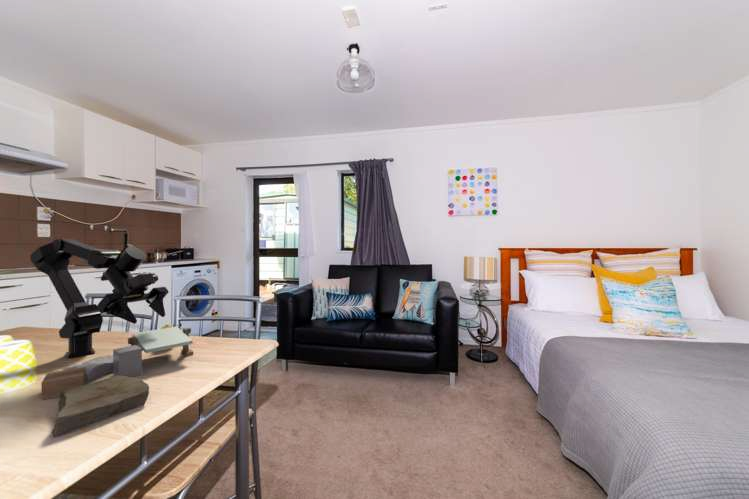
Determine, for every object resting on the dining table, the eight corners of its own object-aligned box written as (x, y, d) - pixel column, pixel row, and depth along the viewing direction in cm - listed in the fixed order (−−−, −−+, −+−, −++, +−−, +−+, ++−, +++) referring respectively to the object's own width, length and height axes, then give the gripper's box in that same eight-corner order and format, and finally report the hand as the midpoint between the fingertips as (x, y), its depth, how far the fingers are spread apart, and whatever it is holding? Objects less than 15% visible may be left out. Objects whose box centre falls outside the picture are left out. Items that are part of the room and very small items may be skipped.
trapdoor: (132, 348, 98) (132, 333, 97) (175, 340, 107) (176, 326, 106) (145, 366, 88) (145, 349, 88) (191, 356, 97) (192, 340, 97)
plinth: (47, 389, 77) (47, 373, 77) (85, 381, 81) (85, 366, 81) (41, 400, 72) (41, 382, 72) (83, 391, 76) (83, 375, 76)
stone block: (56, 388, 82) (89, 382, 81) (54, 369, 82) (87, 364, 81) (100, 372, 94) (130, 367, 93) (98, 356, 94) (128, 350, 93)
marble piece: (54, 440, 57) (54, 417, 57) (35, 416, 66) (35, 396, 66) (157, 403, 71) (157, 384, 71) (131, 387, 79) (131, 370, 79)
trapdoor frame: (125, 364, 93) (125, 336, 93) (187, 351, 106) (188, 326, 106) (129, 369, 90) (129, 340, 90) (193, 354, 103) (193, 328, 103)
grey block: (113, 376, 85) (113, 349, 85) (135, 371, 89) (135, 344, 89) (118, 381, 82) (118, 353, 82) (141, 375, 86) (141, 348, 86)
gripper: (105, 265, 88) (135, 307, 85) (164, 262, 106) (191, 297, 103) (84, 292, 90) (112, 333, 87) (146, 284, 108) (171, 319, 105)
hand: (150, 319), depth 96 cm, fingers open, 9 cm apart
